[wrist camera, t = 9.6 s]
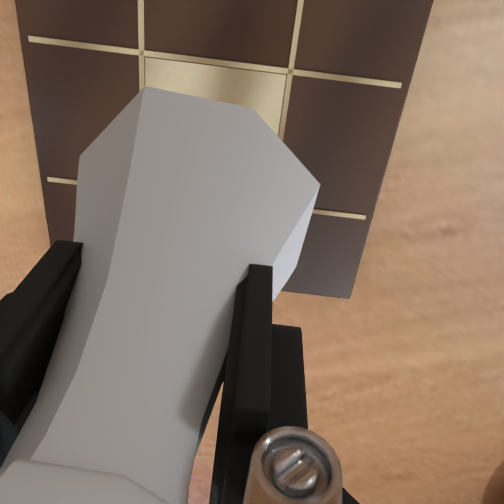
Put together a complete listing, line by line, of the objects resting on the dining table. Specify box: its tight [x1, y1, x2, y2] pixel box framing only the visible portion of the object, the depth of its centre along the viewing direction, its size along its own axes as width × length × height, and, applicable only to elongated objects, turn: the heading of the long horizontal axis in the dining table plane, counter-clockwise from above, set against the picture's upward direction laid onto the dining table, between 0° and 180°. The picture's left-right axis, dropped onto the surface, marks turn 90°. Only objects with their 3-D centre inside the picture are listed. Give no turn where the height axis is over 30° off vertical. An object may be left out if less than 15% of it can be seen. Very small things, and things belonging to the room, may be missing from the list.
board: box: [15, 0, 433, 299], centre depth 28 cm, size 22×22×2 cm
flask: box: [0, 86, 320, 504], centre depth 10 cm, size 7×7×10 cm
